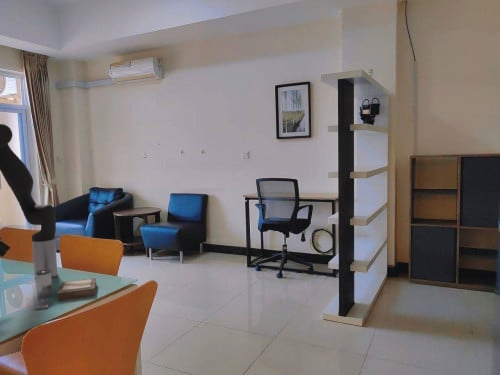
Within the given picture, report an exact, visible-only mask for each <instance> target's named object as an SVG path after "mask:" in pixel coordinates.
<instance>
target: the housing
mask: <svg viewBox="0 0 500 375" xmlns="http://www.w3.org/2000/svg"><path fill="white" fill-rule="evenodd" d="M35 280H36V281H35V282H36V293H37V298H38V299H41V300H44V299H48V298H51V297H52V296H54V294H53V283H52V281H53V280H52V278H51V270H49V269H45V270H40V271H37V272H36V278H35Z"/></svg>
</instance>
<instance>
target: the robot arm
mask: <svg viewBox="0 0 500 375" xmlns="http://www.w3.org/2000/svg"><path fill="white" fill-rule="evenodd" d="M12 140H13V131H12V129H11V128H10V127H9V126H8V125H6V124H4V123H2V122H0V172H1V174H2V176H3V178H4V180H5V182H6V183H7V185H8V187H9V188H10V190H11V191H12V193H13V195H14V197H15V198H16V201H17V203H18V204H19V206H20V209H21V211H22V213H23V216H24V218H25V219H26V222H27V223H29V225H32V226H40V230H39V231H37V232H34V233H33V234H32V235H31V245H32V254H33V255H32V256H33V257H32V259H33V268H34V278H35V279H36V272H37V271H40V270H45V269H49V270H51V279H52V278H54V277H56V276H57V275H58V261H57V260H58V259H57V248H56V232H57V226H56V225H57V224H56V222H57V221H56V218H57V217H56V214H57V213H56V209H55V208H54V206H53V205H51V204H37V203H36V201H35V200H34V198H33V195H32V193H33V186H34V179H33V176H32V174H31V173H30V170H29V169H28V167H27V165H26V164H25V163H24V161H22V159H20V157H19V156H18V155H17V154H16V153H15V152H14V151H13V150H12V149H11V147H10V145H9V143H10V142H11V141H12ZM10 249H11V246H9V245H8V244H7V243H5V242H4V241H3V238H2V237H0V258H2V257H4V256H5V255H6V254H7V252H8V251H9V250H10Z"/></svg>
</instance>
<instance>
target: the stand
mask: <svg viewBox="0 0 500 375" xmlns="http://www.w3.org/2000/svg"><path fill="white" fill-rule="evenodd" d="M96 288H97V279H96V278H86V279H78V280H71V281H62V282H61V284H60V286H59V288H58V290H57V295H56V296H57V301H58V302H60V301H61V302H62V301H66V300H73V299H74V300H75V299H82V298H89V297H95V295H96V291H97V289H96Z"/></svg>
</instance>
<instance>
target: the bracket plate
mask: <svg viewBox="0 0 500 375" xmlns="http://www.w3.org/2000/svg"><path fill="white" fill-rule="evenodd" d="M50 304H51V300H46V301H40V302H37V303H36V305H35V307H34V311H39V310H40V311H41V310H47V309H49V307H50Z"/></svg>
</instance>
